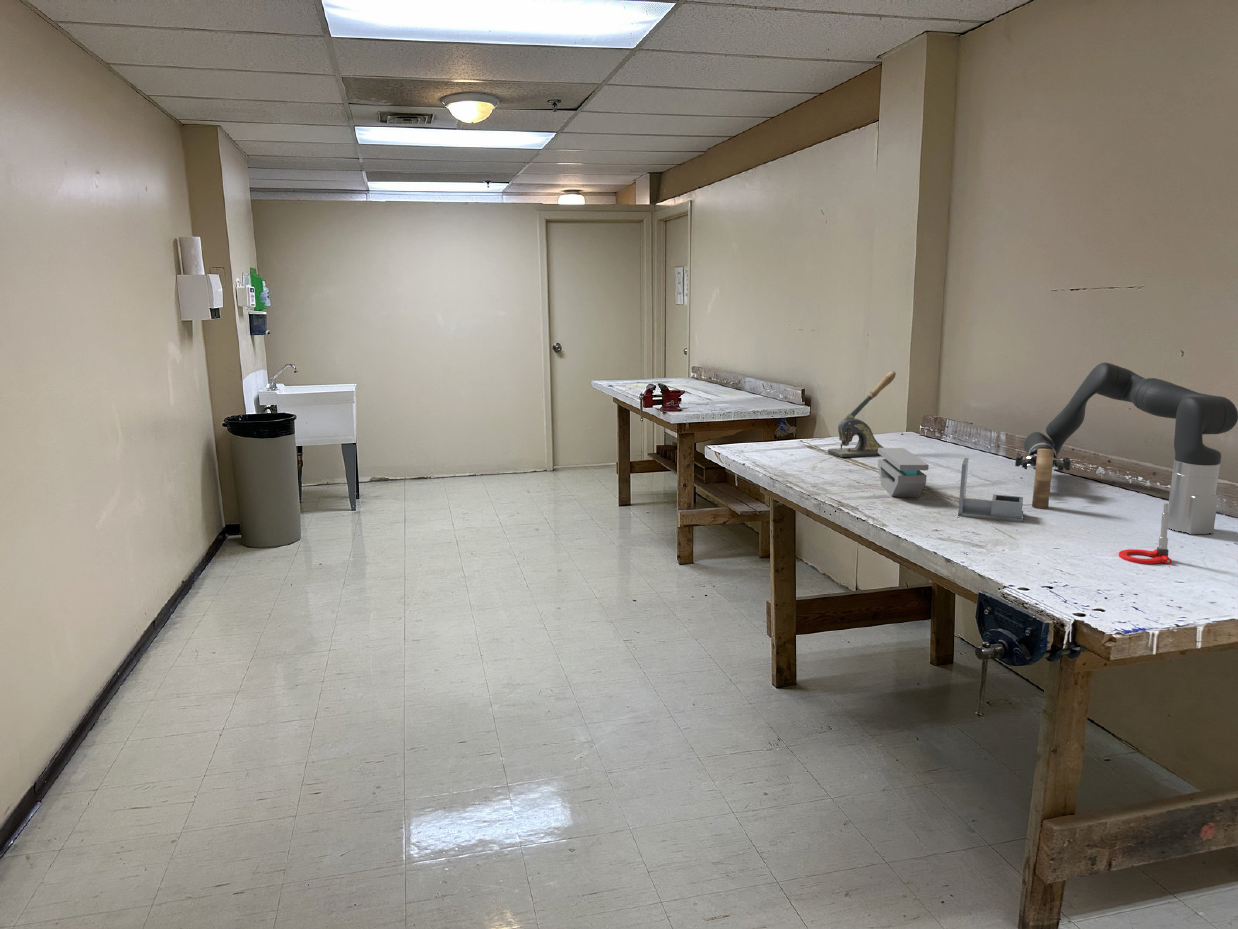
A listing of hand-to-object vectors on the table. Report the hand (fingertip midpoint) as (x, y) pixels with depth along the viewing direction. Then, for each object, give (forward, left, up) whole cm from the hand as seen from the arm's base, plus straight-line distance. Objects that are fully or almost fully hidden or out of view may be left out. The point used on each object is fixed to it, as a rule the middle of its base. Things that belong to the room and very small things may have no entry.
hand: (1042, 467), depth 235 cm
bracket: (-16, +23, -9) cm, 29 cm away
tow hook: (-54, +8, -9) cm, 55 cm away
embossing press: (+67, +27, -9) cm, 74 cm away
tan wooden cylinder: (-10, +6, -9) cm, 14 cm away
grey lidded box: (+11, +37, -9) cm, 39 cm away
